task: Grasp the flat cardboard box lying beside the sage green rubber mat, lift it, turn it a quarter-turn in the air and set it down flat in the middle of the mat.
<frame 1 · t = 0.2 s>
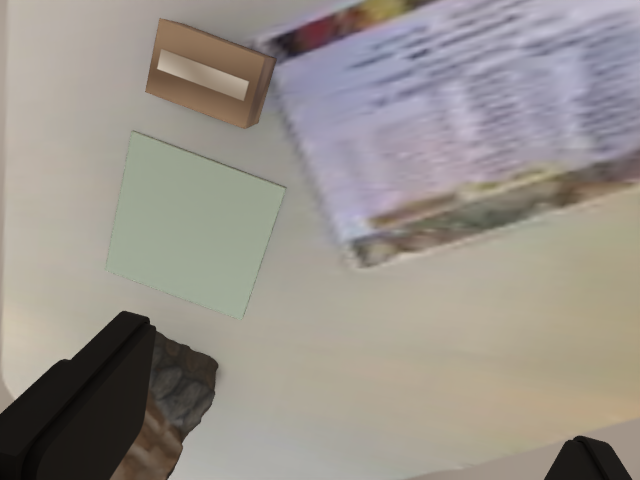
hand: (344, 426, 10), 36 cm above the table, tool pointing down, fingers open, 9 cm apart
cardboard box: (222, 74, 43), on the table
mat: (191, 230, 49), on the table
brown rock: (165, 365, 56), on the table
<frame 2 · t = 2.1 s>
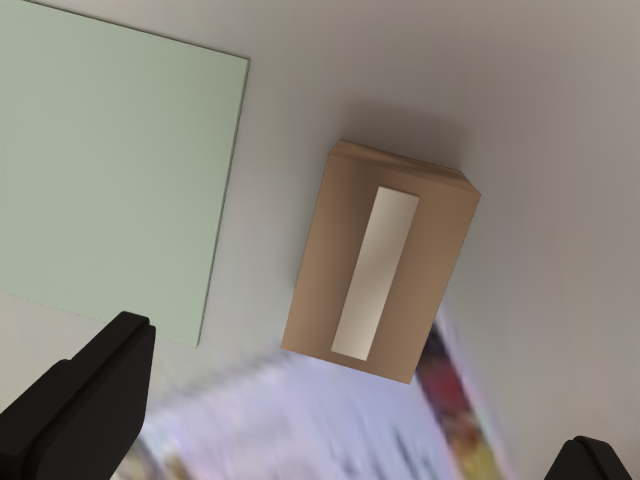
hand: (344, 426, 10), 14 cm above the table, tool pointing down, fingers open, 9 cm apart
cardboard box: (373, 239, 24), on the table
mat: (78, 178, 25), on the table
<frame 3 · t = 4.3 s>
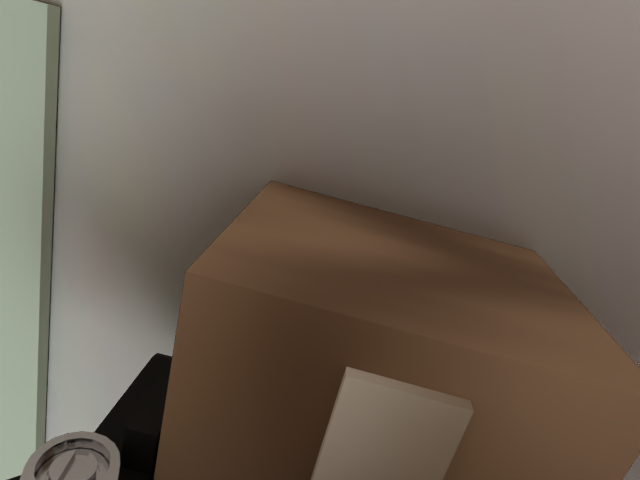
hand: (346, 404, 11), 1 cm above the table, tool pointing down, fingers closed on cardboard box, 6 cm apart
cardboard box: (349, 379, 12), on the table, touching gripper
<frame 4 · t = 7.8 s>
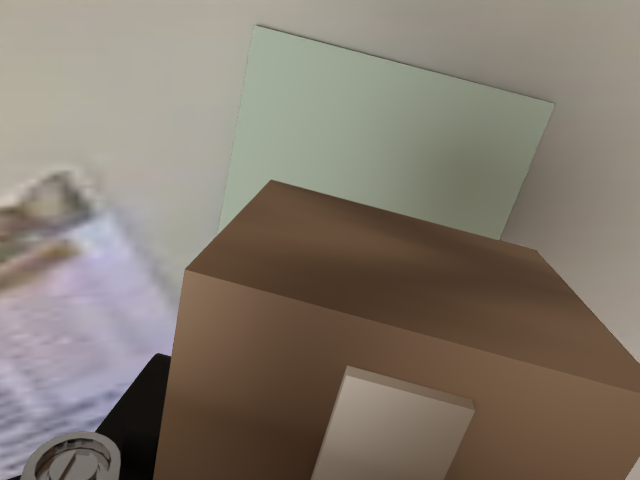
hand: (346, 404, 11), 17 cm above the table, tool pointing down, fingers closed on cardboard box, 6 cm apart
cardboard box: (349, 378, 12), point 16 cm above the table, touching gripper
mat: (362, 206, 27), on the table
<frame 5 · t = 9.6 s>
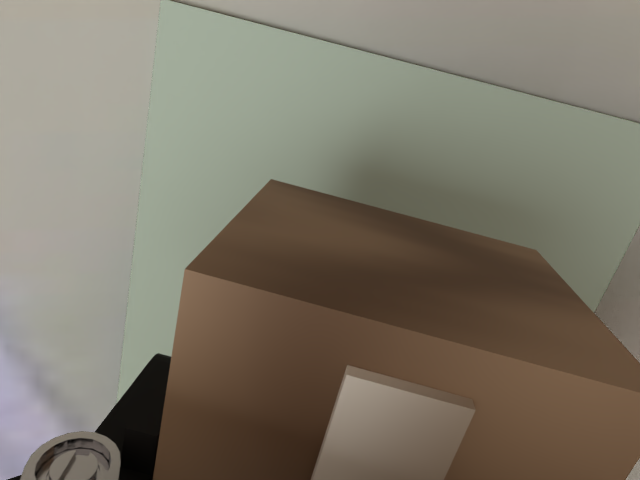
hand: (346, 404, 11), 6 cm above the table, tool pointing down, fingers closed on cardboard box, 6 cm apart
cardboard box: (349, 378, 12), point 5 cm above the table, touching gripper
mat: (351, 295, 17), on the table
when the fingers open (3 cm above the table, at t = 11.3 s): cardboard box drops 1 cm, resting on mat.
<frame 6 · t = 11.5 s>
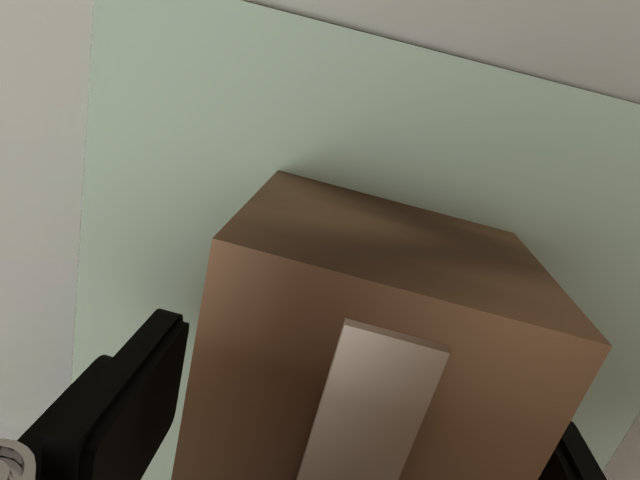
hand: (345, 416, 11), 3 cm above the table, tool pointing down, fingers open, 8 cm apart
cardboard box: (348, 351, 13), resting on mat
mat: (351, 344, 13), on the table
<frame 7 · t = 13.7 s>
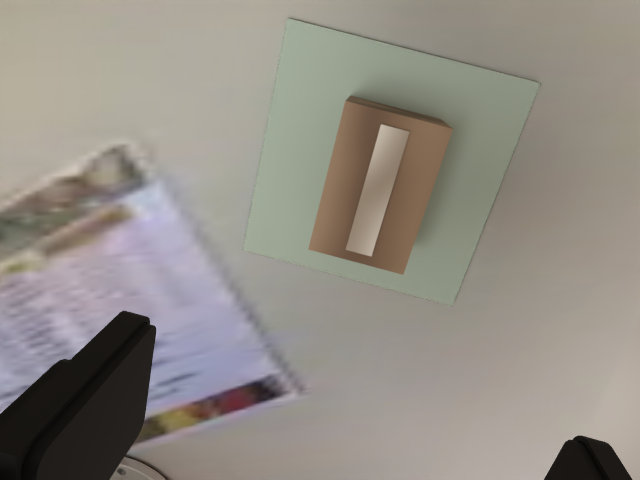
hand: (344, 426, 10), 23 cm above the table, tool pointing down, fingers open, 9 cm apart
cardboard box: (376, 174, 31), resting on mat
mat: (377, 173, 32), on the table
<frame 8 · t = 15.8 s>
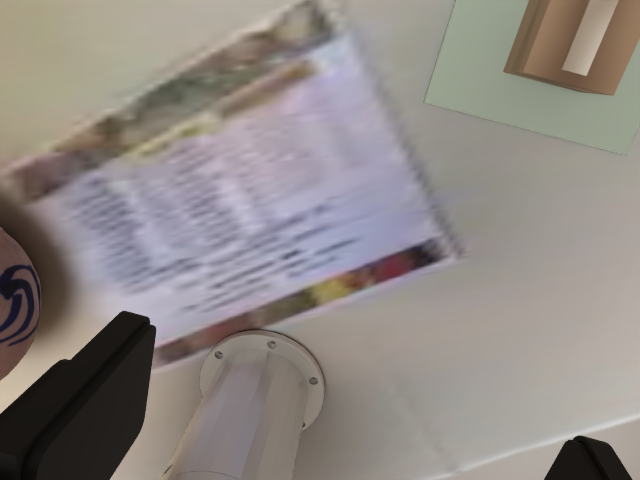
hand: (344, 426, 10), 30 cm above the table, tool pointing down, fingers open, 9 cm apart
cardboard box: (567, 17, 33), resting on mat
mat: (566, 18, 33), on the table
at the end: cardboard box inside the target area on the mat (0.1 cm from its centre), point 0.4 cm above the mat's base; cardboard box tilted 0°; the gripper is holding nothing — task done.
